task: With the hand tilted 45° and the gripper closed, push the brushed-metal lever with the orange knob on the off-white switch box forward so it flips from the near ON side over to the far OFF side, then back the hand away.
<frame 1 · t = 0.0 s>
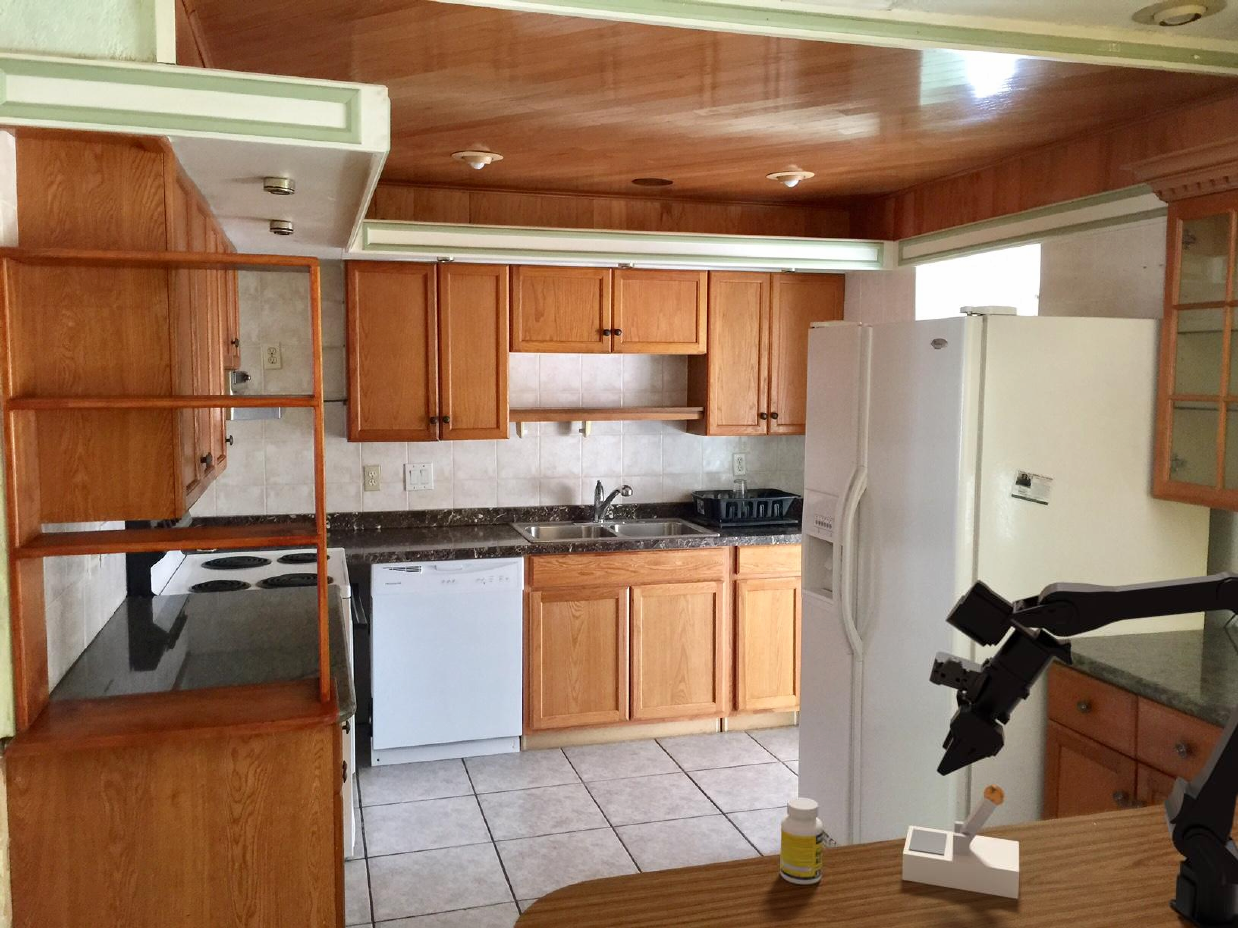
hand: (942, 760, 135), 15 cm above the countertop, tool tilted 35°, fingers open, 9 cm apart
supplement bottle: (801, 877, 135), on the countertop
switch box: (960, 872, 135), on the countertop
switch lever: (979, 815, 134), point 8 cm above the countertop, hinge at -30.0°
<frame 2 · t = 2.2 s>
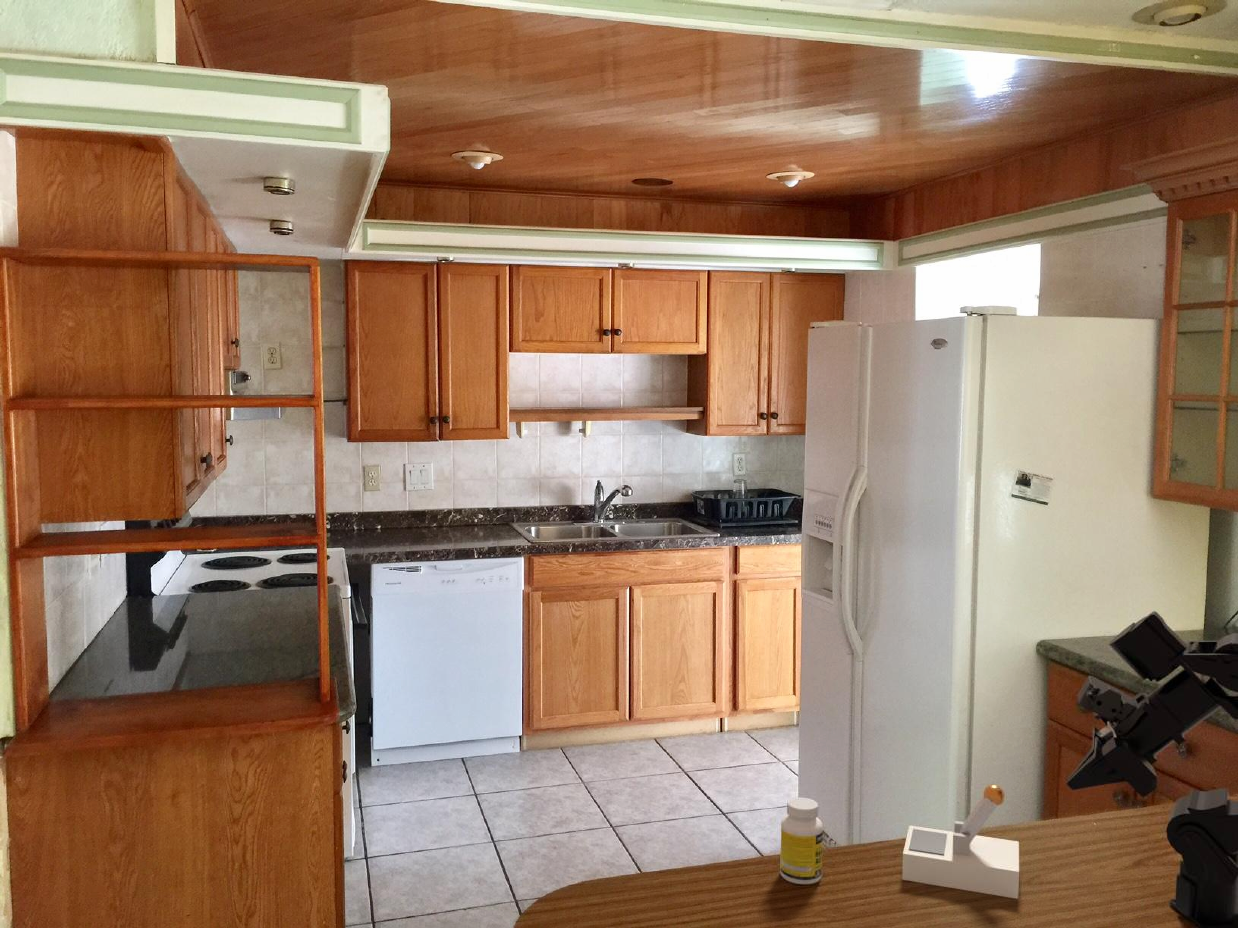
hand: (1069, 785, 130), 14 cm above the countertop, tool tilted 45°, fingers closed
nothing on the countertop moved.
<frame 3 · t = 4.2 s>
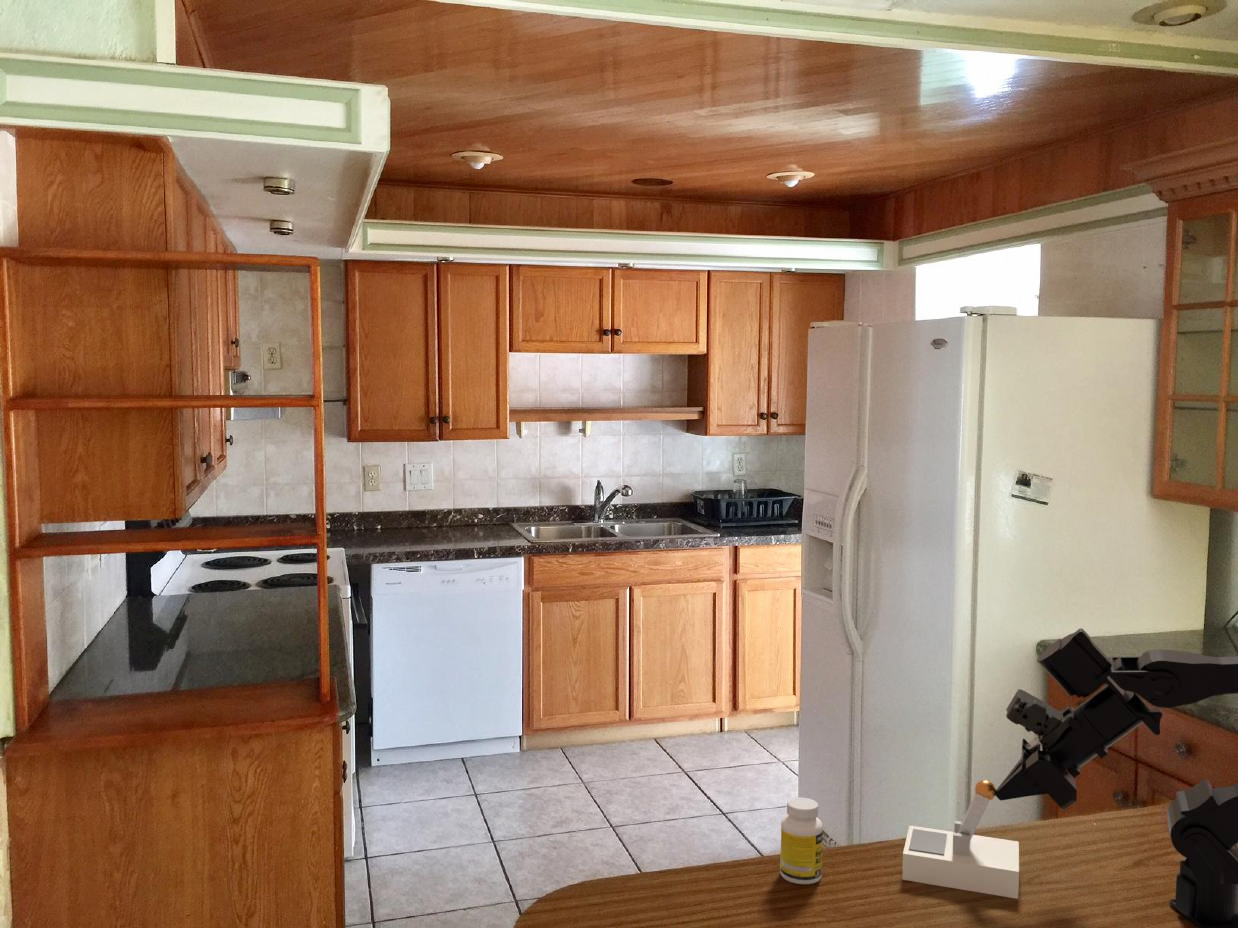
hand: (997, 796, 133), 11 cm above the countertop, tool tilted 45°, fingers closed, pressing on switch lever
switch lever: (974, 812, 134), point 8 cm above the countertop, hinge at -21.1°, touching gripper
everything else where it was.
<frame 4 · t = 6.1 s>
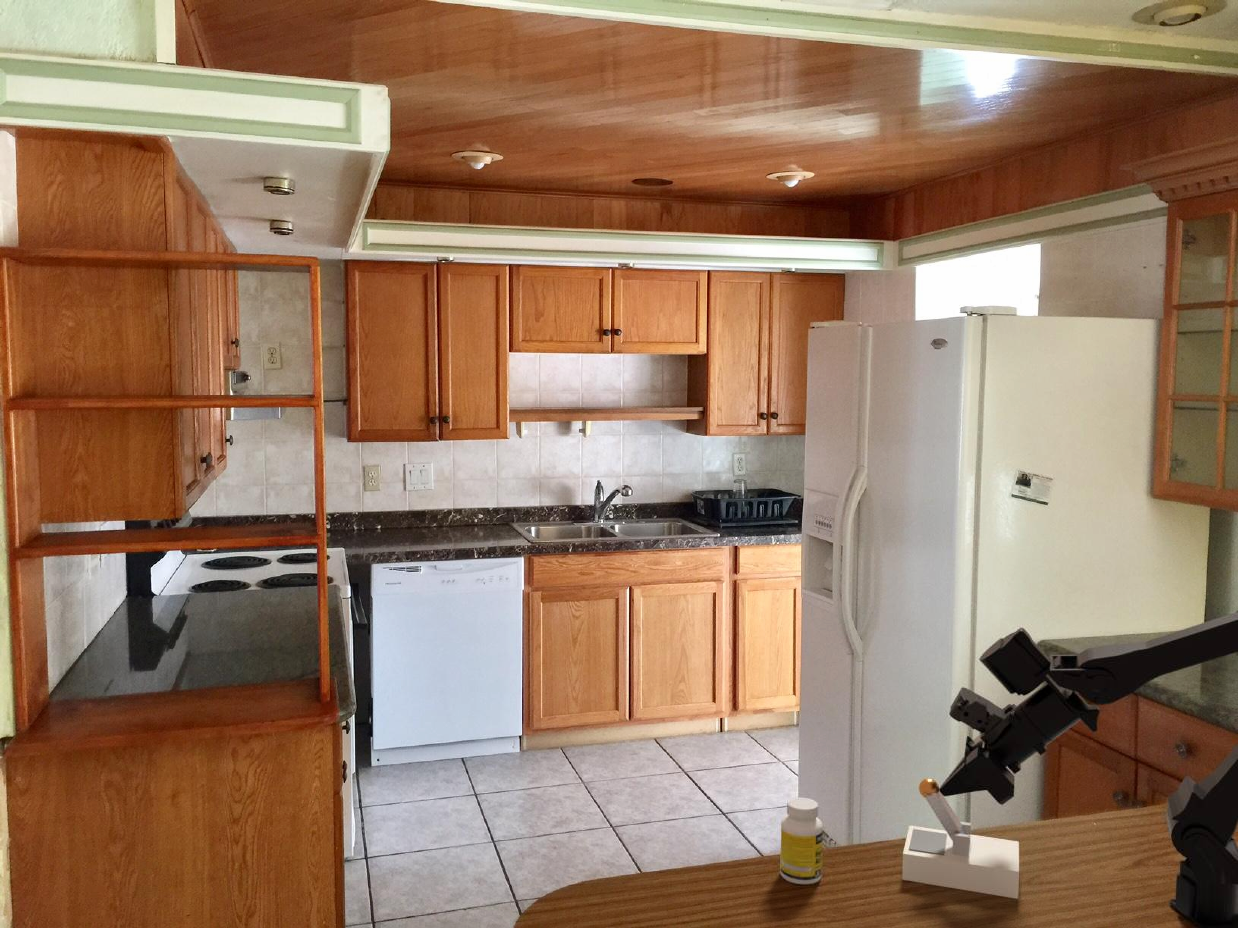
hand: (941, 792, 135), 11 cm above the countertop, tool tilted 45°, fingers closed
switch lever: (943, 811, 135), point 8 cm above the countertop, hinge at 33.9°
everything else where it was.
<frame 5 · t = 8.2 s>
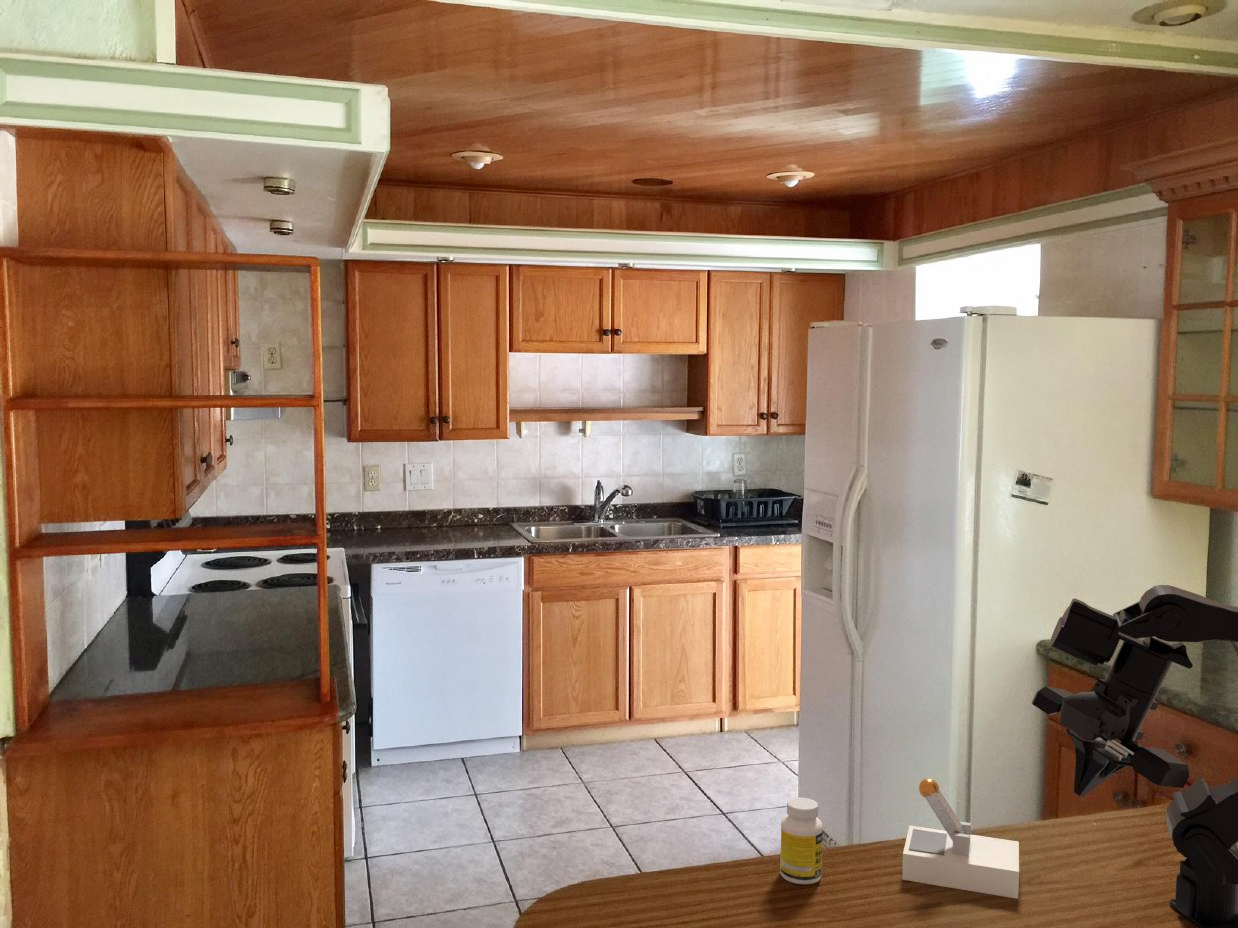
hand: (1078, 794, 128), 13 cm above the countertop, tool tilted 20°, fingers closed
nothing on the countertop moved.
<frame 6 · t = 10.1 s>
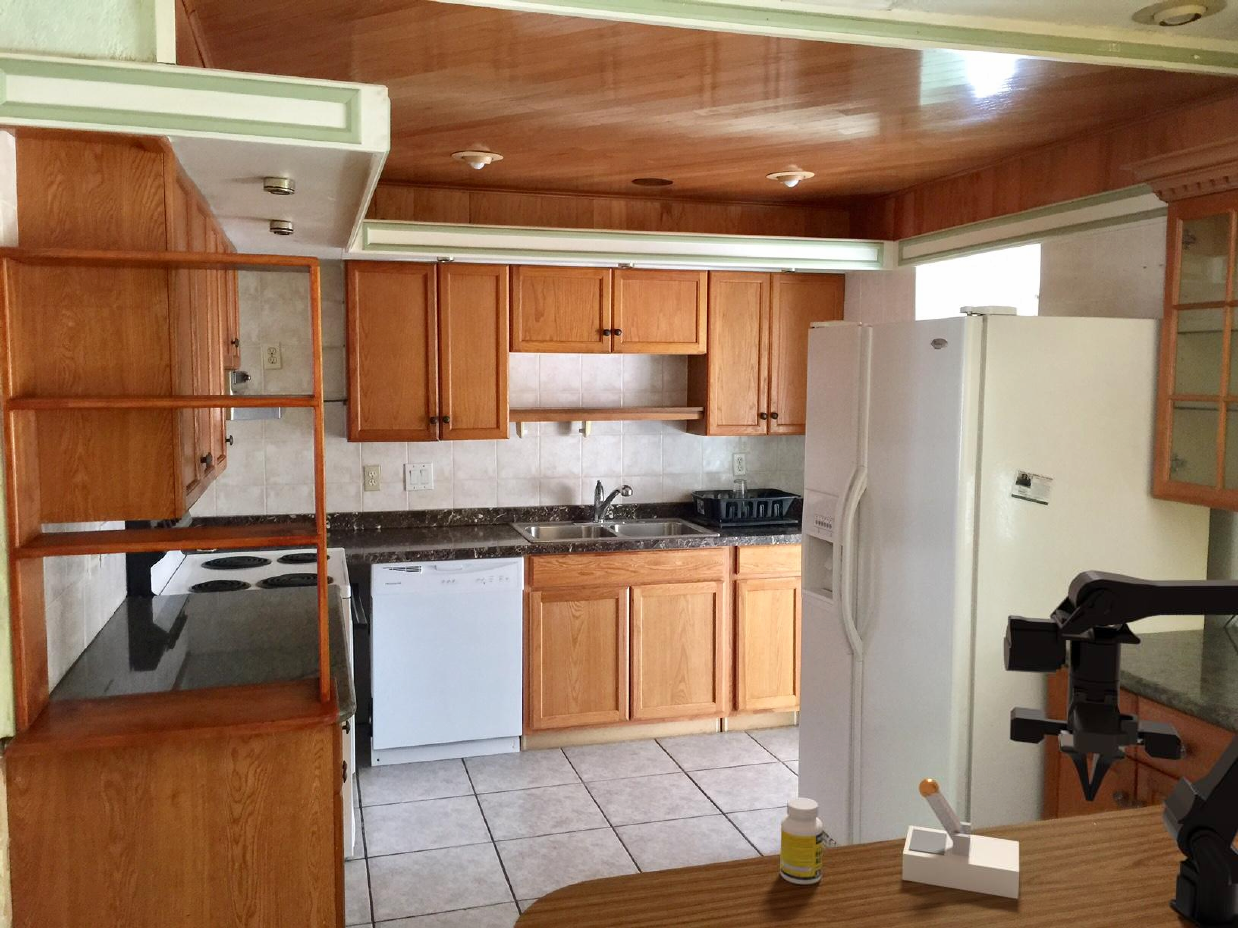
hand: (1089, 800, 127), 13 cm above the countertop, tool pointing down, fingers closed
nothing on the countertop moved.
at the end: switch lever at +34° (first picture: -30°); supplement bottle moved 0.2 cm from its start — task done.
